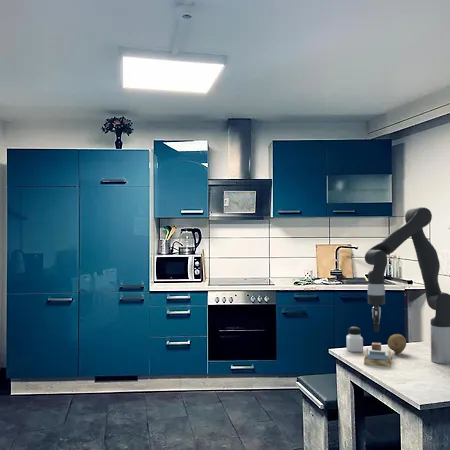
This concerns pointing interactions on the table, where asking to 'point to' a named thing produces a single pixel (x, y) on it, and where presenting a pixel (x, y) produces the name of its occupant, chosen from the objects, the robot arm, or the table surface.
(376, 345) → the block
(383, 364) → the wooden tray
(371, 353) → the cover
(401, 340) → the natural sponge
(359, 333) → the medicine bottle
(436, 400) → the table surface
